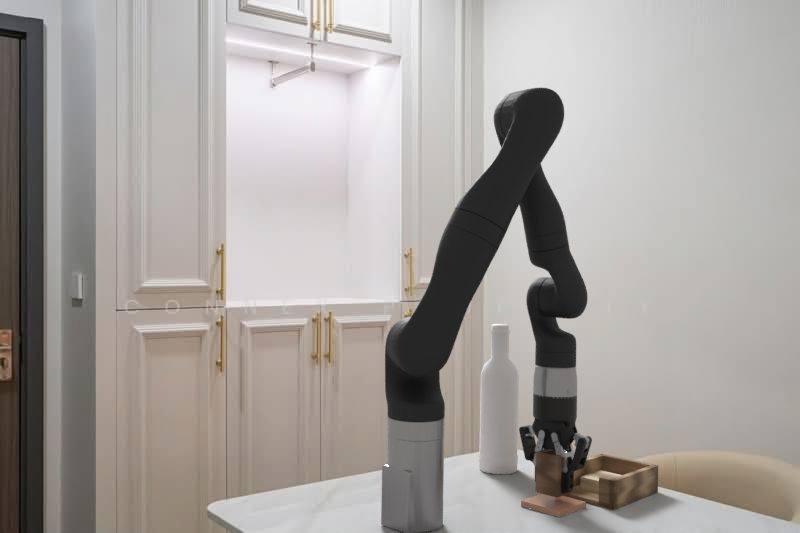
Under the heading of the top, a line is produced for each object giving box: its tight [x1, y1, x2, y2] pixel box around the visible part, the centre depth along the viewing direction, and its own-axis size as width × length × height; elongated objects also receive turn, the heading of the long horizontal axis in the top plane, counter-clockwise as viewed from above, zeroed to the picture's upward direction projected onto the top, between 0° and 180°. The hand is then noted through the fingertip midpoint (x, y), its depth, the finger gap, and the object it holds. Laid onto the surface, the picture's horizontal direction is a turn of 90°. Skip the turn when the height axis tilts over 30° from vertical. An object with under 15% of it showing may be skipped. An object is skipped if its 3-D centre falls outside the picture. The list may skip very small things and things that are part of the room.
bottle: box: [478, 323, 519, 475], centre depth 158 cm, size 8×8×30 cm
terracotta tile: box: [520, 493, 587, 518], centre depth 133 cm, size 8×8×1 cm
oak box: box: [564, 453, 659, 511], centre depth 142 cm, size 16×12×5 cm
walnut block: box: [535, 449, 572, 498], centre depth 133 cm, size 4×4×7 cm
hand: (553, 489), depth 133 cm, fingers closed on walnut block, 4 cm apart
